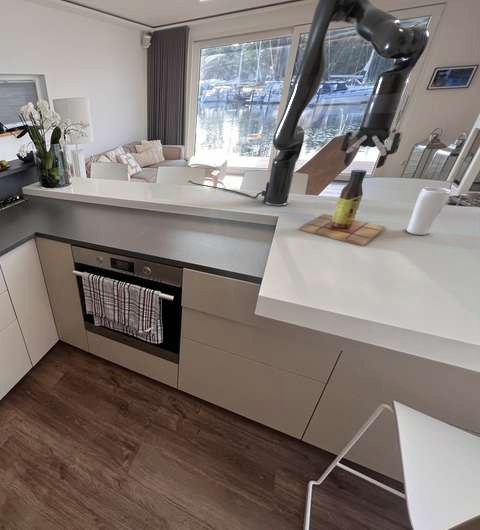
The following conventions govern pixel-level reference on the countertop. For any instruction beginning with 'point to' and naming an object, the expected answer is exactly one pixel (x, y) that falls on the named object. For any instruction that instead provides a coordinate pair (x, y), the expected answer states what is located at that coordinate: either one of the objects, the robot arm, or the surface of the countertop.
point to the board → (343, 230)
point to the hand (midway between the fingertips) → (362, 166)
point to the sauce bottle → (349, 200)
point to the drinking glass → (427, 209)
